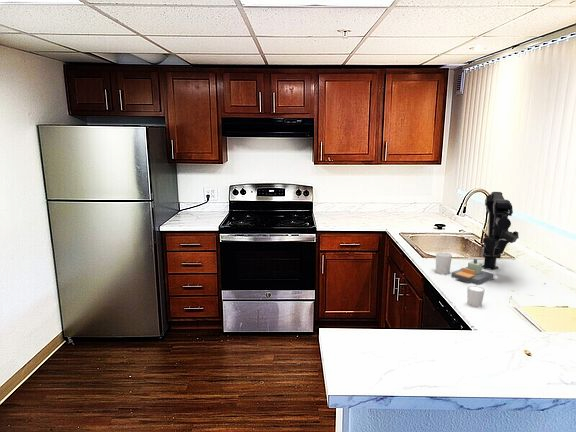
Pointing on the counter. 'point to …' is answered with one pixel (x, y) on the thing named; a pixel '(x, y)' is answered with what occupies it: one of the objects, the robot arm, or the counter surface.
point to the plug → (475, 266)
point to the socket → (476, 279)
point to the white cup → (443, 262)
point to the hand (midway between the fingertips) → (496, 255)
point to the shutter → (466, 273)
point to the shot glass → (475, 295)
